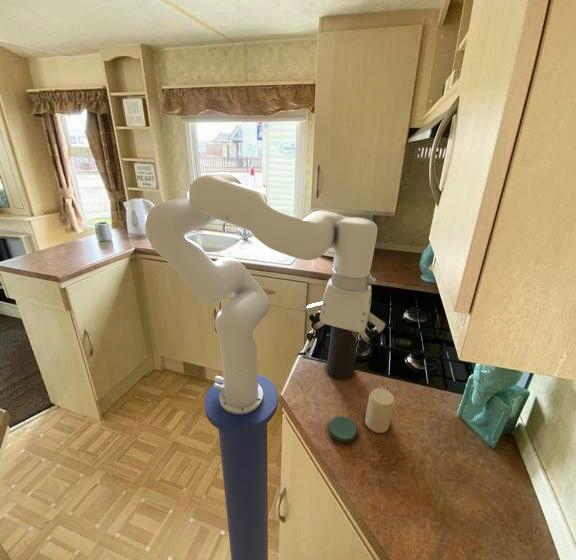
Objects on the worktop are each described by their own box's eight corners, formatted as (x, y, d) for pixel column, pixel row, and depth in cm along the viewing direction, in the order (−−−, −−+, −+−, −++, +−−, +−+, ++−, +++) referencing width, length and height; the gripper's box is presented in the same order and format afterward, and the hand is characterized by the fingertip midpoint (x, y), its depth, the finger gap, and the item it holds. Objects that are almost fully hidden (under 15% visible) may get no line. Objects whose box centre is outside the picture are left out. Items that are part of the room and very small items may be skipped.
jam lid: (361, 436, 78) (362, 432, 77) (339, 447, 75) (340, 443, 74) (345, 416, 83) (345, 412, 82) (323, 426, 80) (324, 422, 79)
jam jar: (364, 429, 80) (369, 402, 76) (365, 410, 85) (369, 384, 81) (389, 435, 78) (395, 408, 74) (389, 416, 84) (394, 390, 80)
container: (359, 378, 96) (367, 323, 88) (331, 382, 94) (337, 326, 86) (347, 360, 104) (354, 307, 95) (322, 363, 102) (326, 310, 93)
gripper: (394, 280, 65) (379, 346, 72) (314, 264, 70) (308, 328, 78) (391, 295, 59) (376, 366, 66) (304, 277, 64) (298, 345, 71)
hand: (339, 346), depth 72 cm, fingers open, 9 cm apart
